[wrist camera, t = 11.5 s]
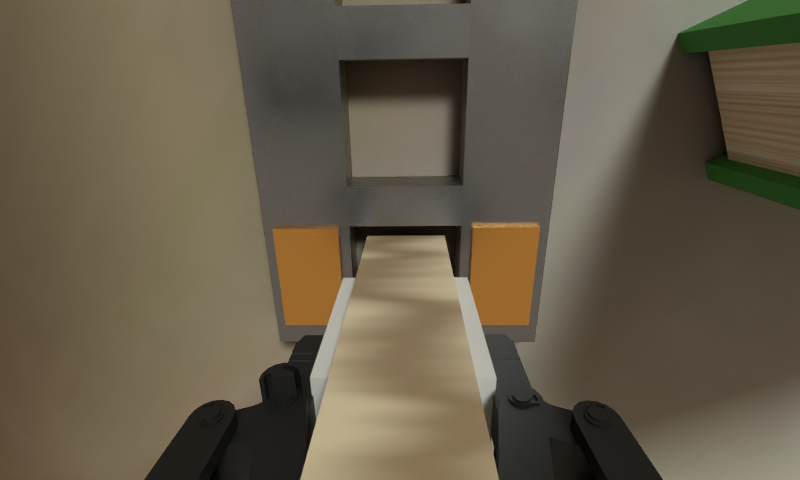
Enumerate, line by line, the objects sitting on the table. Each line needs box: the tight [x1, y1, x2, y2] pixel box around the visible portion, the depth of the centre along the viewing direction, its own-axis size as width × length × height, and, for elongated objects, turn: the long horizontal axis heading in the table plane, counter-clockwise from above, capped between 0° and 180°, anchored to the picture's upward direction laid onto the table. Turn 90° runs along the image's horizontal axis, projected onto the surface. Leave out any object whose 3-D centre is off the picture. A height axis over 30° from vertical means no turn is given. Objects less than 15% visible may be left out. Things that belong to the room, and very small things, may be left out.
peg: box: [300, 235, 499, 480], centre depth 15 cm, size 4×4×14 cm
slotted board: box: [231, 0, 578, 342], centre depth 19 cm, size 14×23×2 cm, turn 1°
